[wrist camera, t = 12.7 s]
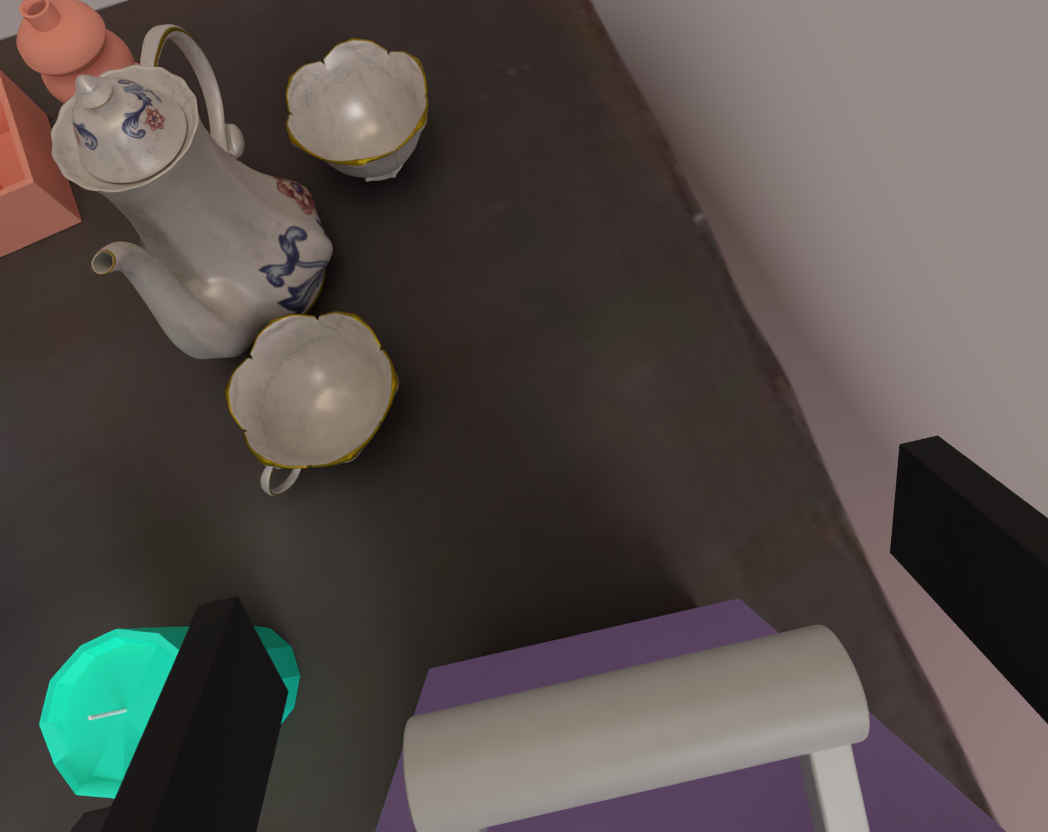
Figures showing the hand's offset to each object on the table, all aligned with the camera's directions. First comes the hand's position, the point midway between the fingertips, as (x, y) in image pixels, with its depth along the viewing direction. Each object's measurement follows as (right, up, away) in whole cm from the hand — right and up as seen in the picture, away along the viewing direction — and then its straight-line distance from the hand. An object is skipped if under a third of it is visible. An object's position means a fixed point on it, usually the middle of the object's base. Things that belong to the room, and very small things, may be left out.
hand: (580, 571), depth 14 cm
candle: (-16, -11, +22) cm, 29 cm away
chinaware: (-15, +12, +28) cm, 34 cm away
